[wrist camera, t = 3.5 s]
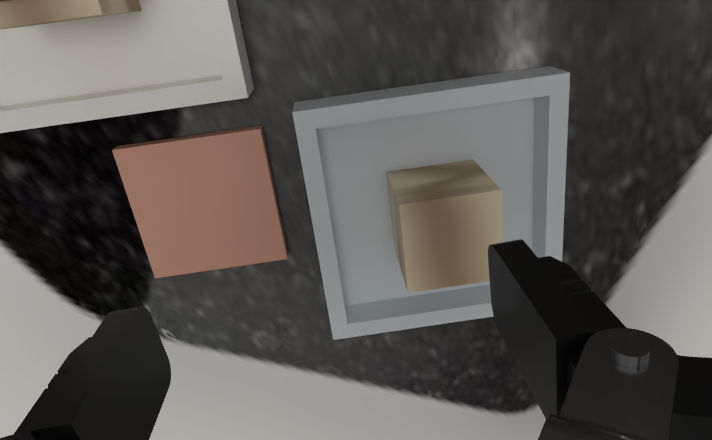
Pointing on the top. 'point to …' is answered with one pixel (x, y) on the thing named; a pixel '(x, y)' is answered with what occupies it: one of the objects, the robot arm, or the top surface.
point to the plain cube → (444, 223)
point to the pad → (203, 201)
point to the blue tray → (418, 149)
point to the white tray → (123, 64)
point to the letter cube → (59, 11)
